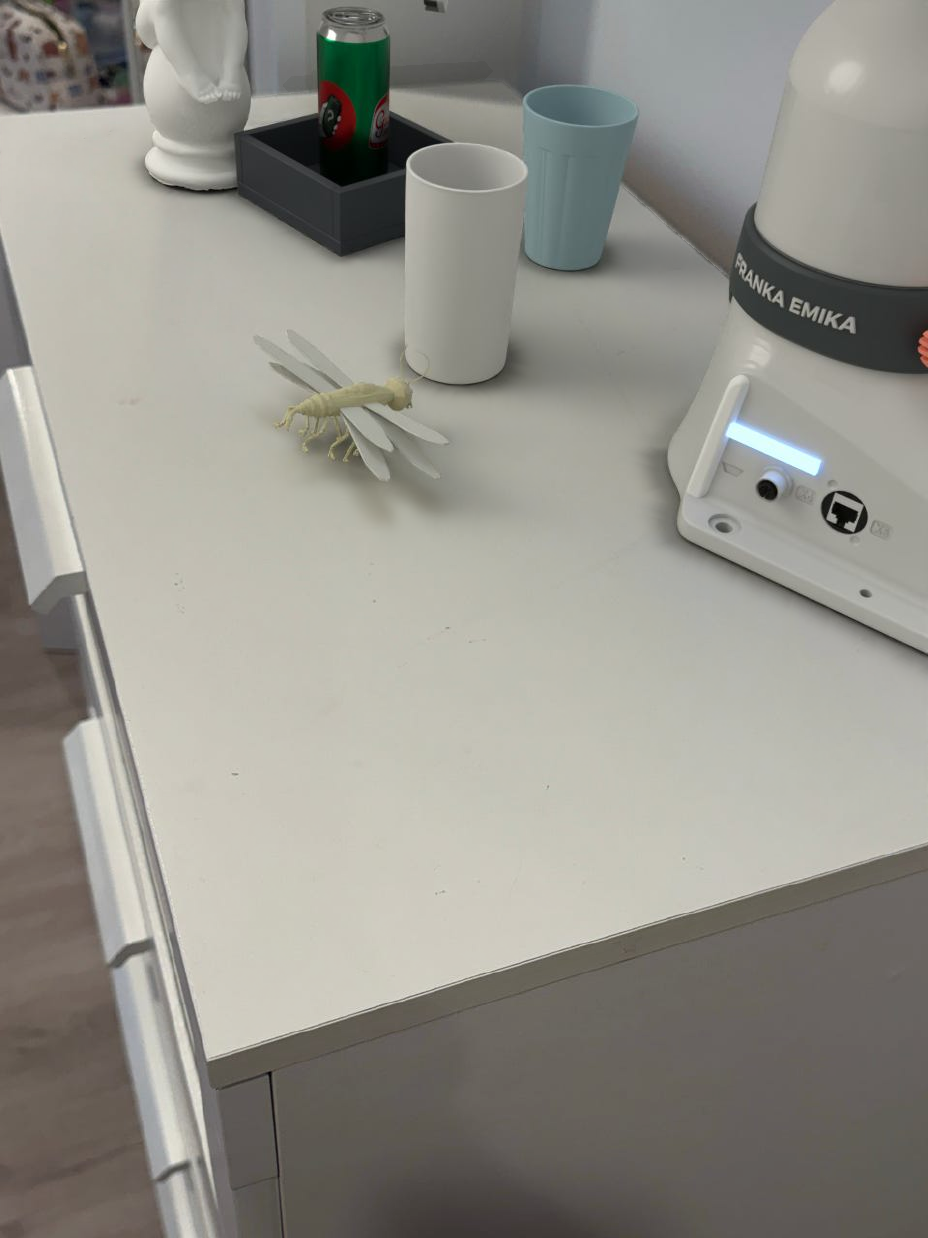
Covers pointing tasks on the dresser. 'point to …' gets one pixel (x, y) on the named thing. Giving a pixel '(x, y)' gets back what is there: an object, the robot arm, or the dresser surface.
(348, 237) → the bin
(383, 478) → the toy
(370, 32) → the soda can
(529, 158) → the cup
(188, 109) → the cherub figurine
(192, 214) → the dresser surface
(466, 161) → the mug
